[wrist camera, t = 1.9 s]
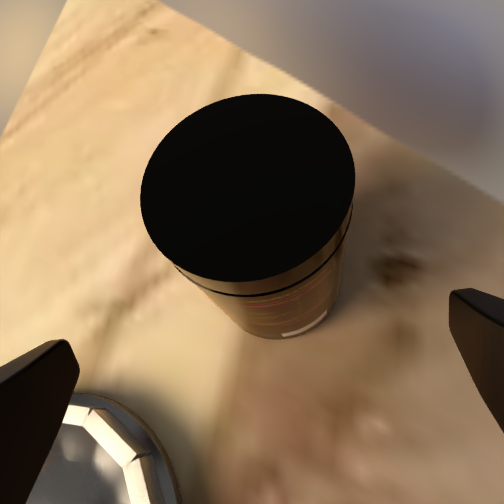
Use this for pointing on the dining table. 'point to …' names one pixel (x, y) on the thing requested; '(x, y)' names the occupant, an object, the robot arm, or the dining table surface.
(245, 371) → the dining table surface
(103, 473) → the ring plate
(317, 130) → the supplement container
